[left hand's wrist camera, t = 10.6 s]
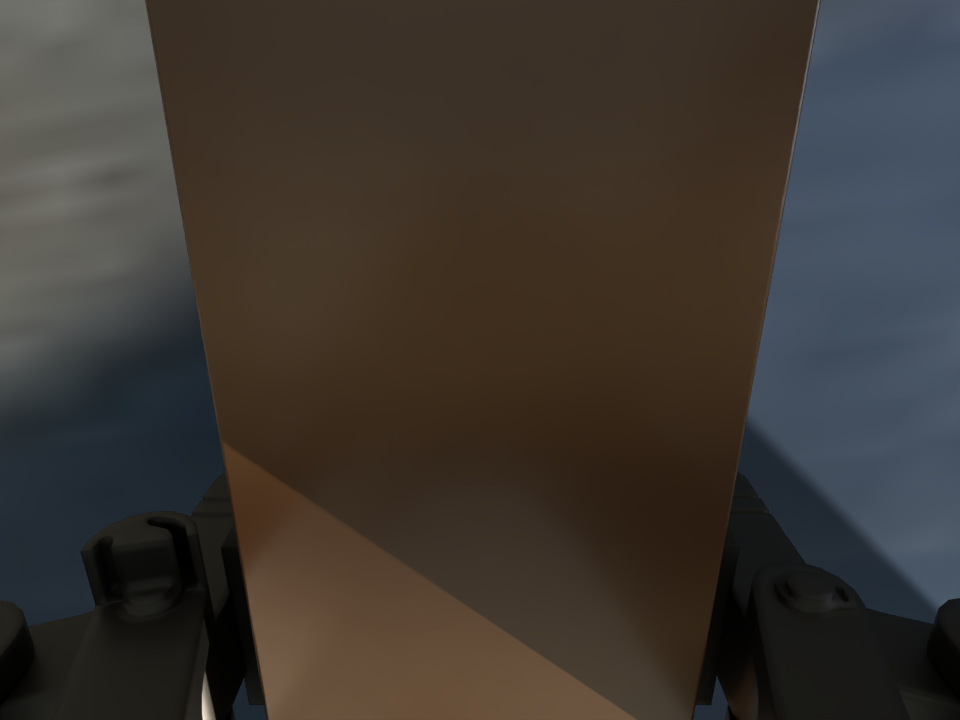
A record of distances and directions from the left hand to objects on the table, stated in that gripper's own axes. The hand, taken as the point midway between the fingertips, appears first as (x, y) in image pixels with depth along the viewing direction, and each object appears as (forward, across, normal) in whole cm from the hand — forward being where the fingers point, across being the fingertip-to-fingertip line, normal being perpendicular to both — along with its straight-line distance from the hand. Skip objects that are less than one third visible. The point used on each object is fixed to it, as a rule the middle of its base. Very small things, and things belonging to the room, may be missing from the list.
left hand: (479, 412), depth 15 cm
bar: (+1, 0, -30) cm, 30 cm away
